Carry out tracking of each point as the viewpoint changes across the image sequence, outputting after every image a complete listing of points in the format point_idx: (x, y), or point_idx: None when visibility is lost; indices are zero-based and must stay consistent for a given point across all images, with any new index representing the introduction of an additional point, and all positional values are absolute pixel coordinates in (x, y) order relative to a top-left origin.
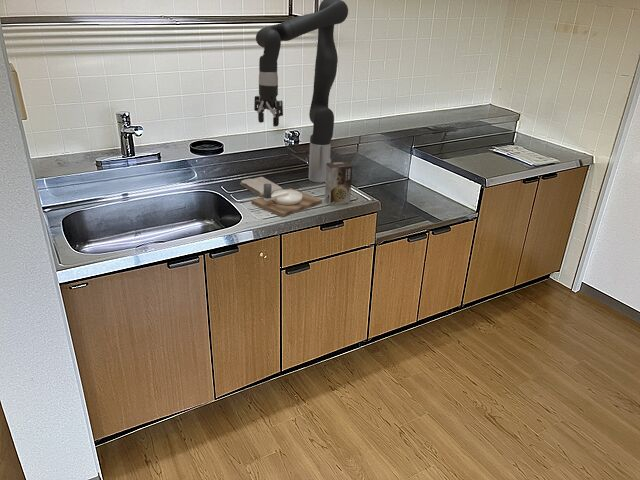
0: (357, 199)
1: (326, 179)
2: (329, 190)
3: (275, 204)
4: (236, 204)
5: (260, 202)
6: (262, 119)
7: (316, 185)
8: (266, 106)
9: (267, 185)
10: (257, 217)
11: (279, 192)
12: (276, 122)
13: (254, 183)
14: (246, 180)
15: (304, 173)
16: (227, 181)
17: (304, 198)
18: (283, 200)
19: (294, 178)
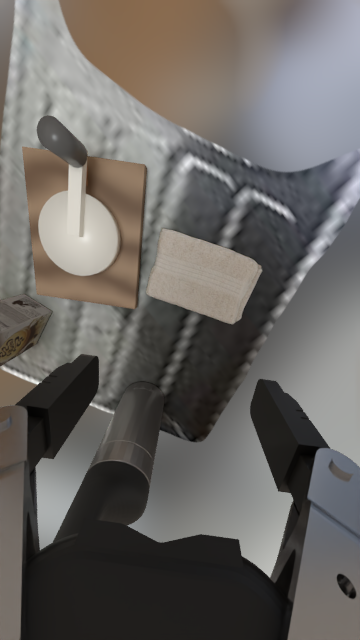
0: None
1: (5, 324)
2: (3, 305)
3: None
4: (172, 132)
5: (116, 169)
6: (260, 418)
7: (123, 369)
8: (148, 636)
9: (45, 126)
10: (67, 94)
11: (102, 235)
12: (46, 380)
13: (215, 268)
14: (247, 274)
15: (188, 410)
16: (301, 259)
17: (66, 274)
18: (56, 195)
19: (184, 375)
